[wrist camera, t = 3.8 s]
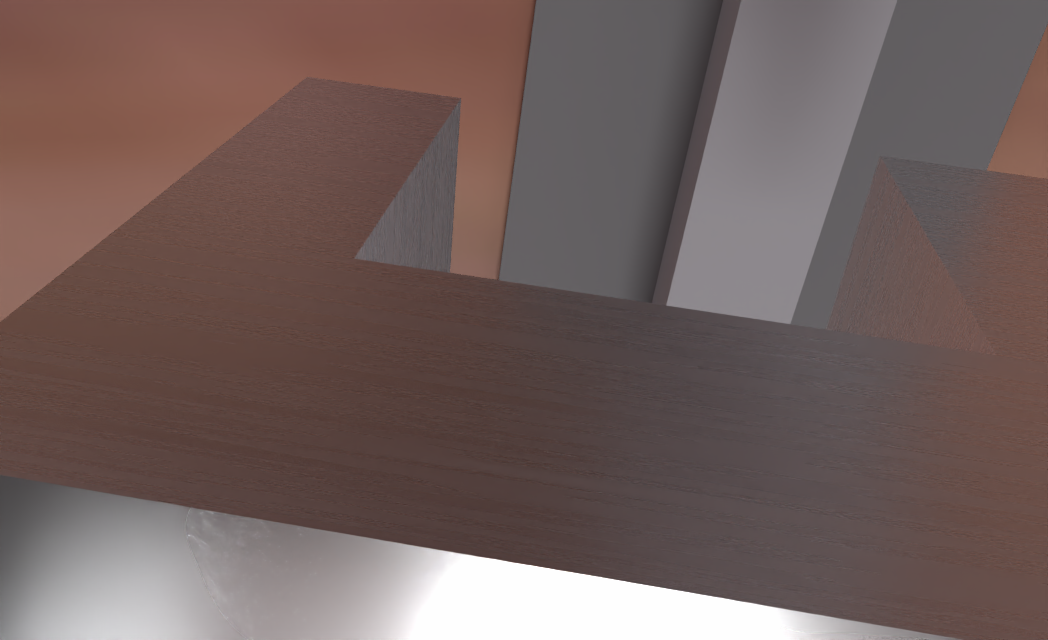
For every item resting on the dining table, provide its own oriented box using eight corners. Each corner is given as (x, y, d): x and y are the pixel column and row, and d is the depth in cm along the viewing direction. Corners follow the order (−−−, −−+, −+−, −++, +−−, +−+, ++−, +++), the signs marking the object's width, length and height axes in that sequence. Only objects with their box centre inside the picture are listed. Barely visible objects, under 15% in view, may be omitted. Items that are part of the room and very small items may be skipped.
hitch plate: (837, 506, 20) (935, 924, 13) (479, 438, 20) (372, 804, 13) (1324, -674, 11) (2811, -1720, 3) (641, -759, 11) (586, -1863, 4)
